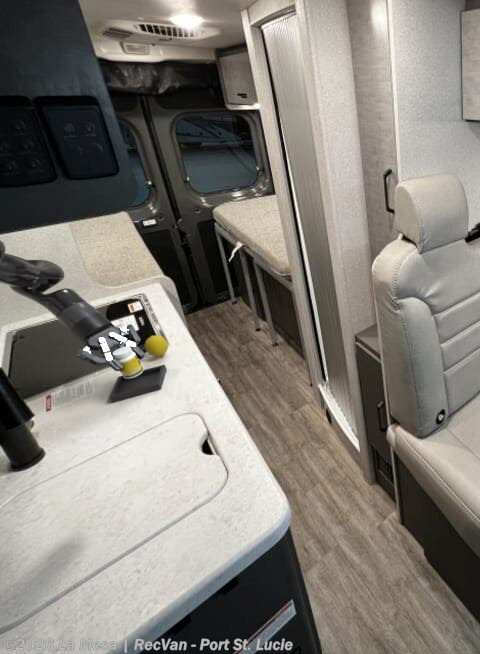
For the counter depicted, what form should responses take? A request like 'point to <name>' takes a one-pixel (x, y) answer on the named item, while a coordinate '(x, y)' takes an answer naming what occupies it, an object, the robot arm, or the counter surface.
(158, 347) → the lemon
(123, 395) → the dock pad
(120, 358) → the supplement bottle
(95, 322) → the robot arm
